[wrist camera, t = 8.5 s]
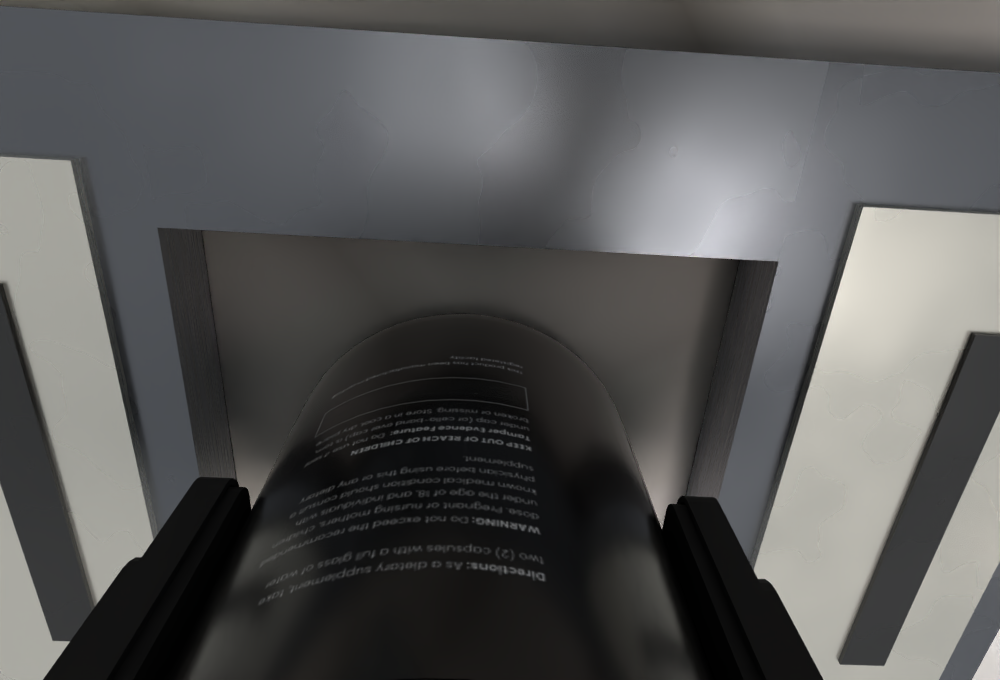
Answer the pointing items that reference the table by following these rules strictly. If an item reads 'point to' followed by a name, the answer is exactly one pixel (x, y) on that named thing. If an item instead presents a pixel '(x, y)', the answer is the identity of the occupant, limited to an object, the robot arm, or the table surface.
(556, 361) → the supplement bottle
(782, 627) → the robot arm
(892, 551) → the label panel
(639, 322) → the table surface
